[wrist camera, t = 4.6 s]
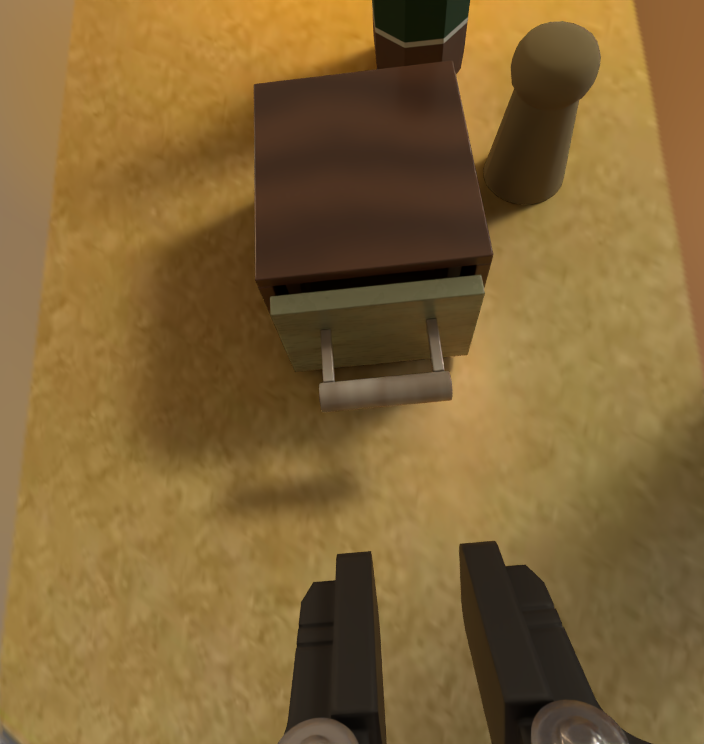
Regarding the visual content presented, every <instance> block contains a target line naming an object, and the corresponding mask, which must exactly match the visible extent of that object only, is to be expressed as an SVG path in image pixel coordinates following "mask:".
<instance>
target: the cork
mask: <svg viewBox="0 0 704 744" xmlns="http://www.w3.org/2000/svg"><path fill="white" fill-rule="evenodd" d="M600 59H601V56H600V50H599V46H598V43H597V40H596V39H595V37H594V36H593V34H592V33H590V32H589V31H588V30H586V29H585V28H584V27H581V26H579V25H576V24H574V23H568V22H549V23H545V24H541V25H539V26H537V27H535V28H534V29H532V30H531V31H530V32H529V33H528V34H527V35H526V36H525V37H524V38H523V39H522V40H521V41H520V42H519V44H518V46H517V48H516V50H515V53H514V56H513V58H512V63H511V77H512V85H513V87H514V91H513V93H512V96H511V98H510V101H509V104H508V106H507V109H506V111H505V114H504V117H503V119H502V122H501V124H500V127H499V129H498V132H497V135H496V137H495V140H494V142H493V145H492V148H491V150H490V153H489V155H488V158H487V161H486V163H485V166H484V179H485V181H486V183H487V186H488V188H489V189H490V190H491V191H492V192H493V193H494V194H495V195H496V196H498V197H500V198H502V199H504V200H506V201H508V202H512V203H516V204H535V203H539V202H542V201H545V200H547V199H548V198H550V197H552V196H553V195H555V193H556V192H557V191H558V190H559V188H560V187H561V185H562V182H563V178H564V174H565V168H566V163H567V158H568V153H569V148H570V143H571V138H572V133H573V128H574V123H575V118H576V113H577V108H578V103H579V100H580V99H581V98H582V97H583V96H584V95H585V94H586V93H587V92H588V90H589V89H590V88H591V86H592V85H593V83H594V81H595V79H596V76H597V74H598V70H599V67H600Z"/></svg>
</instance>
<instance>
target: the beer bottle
mask: <svg viewBox="0 0 704 744" xmlns="http://www.w3.org/2000/svg"><path fill="white" fill-rule="evenodd" d="M469 5H470V0H372V7H373V33H374V44H375V54H376V63H377V69H385V68H393V67H401V66H410V65H418V64H427V63H435V62H443V61H453V64H454V68H455V73H458V71H459V70H460V69H461V63H462V58H463V53H464V46H465V38H466V29H467V21H468V13H469Z"/></svg>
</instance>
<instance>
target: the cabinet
mask: <svg viewBox="0 0 704 744" xmlns="http://www.w3.org/2000/svg"><path fill="white" fill-rule="evenodd" d="M254 186H255V281H256V283H257V285H258V288H259V290H260V293H261V295H262V297H263V299H264V302H265V304H266V306H267V309H268V311H269V313H270V297H271V296H281V295H289V293H288V290H287V287H286V285H288V284H298V283H307V282H317V281H326V280H336V279H345V278H355V277H364V276H374V275H384V274H393V273H403V272H412V271H422V270H431V269H441V268H450V267H460V266H462V268H461V273H460V277H463V276H473V275H481V276H482V281H483V286H484V287H485V283H486V280H487V276H488V272H489V269H490V265H491V261H492V258H493V251H492V246H491V241H490V236H489V232H488V227H487V222H486V217H485V212H484V208H483V203H482V198H481V193H480V188H479V184H478V179H477V174H476V169H475V164H474V160H473V155H472V150H471V145H470V140H469V136H468V131H467V126H466V121H465V116H464V112H463V107H462V102H461V97H460V92H459V88H458V83H457V78H456V73H455V68H454V64H453V61H443V62H435V63H427V64H418V65H410V66H401V67H393V68H385V69H376V70H368V71H360V72H351V73H343V74H335V75H326V76H318V77H310V78H301V79H293V80H284V81H276V82H268V83H259V84H254ZM277 332H278V331H277Z"/></svg>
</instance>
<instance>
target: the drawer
mask: <svg viewBox="0 0 704 744" xmlns="http://www.w3.org/2000/svg"><path fill="white" fill-rule="evenodd" d="M461 268H462V266H460V267H450V268H441V269H431V270H422V271H412V272H403V273H393V274H384V275H374V276H364V277H355V278H345V279H336V280H326V281H317V282H307V283H298V284H288V285H286V287H287V290H288V293H289V295H281V296H271V297H270V315H271V318H272V320H273V322H274V325H275V327H276V329H277V331H278V334H279V336H280V338H281V341H282V343H283V345H284V348H285V350H286V352H287V354H288V357H289V359H290V361H291V364H292V366H293V368H294V370H295V372H298V371H308V370H319V369H323V382H324V383H320V384H319V398H320V406H321V410H322V412H333V411H344V410H354V409H365V408H375V407H386V406H396V405H407V404H417V403H428V402H438V401H449V400H452V381H451V376H450V373H449V371H444V363H443V357H451V356H461V355H468V352H469V348H470V344H471V341H472V337H473V334H474V330H475V326H476V323H477V319H478V316H479V312H480V309H481V305H482V301H483V298H484V294H485V291H484V286H483V281H482V276H481V275H473V276H463V277H460V273H461ZM430 358H431V364H432V371H433V372H429V373H419V374H409V375H398V376H388V377H378V378H368V379H357V380H347V381H337V382H335V376H334V368H339V367H349V366H359V365H369V364H380V363H390V362H400V361H410V360H420V359H430Z"/></svg>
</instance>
